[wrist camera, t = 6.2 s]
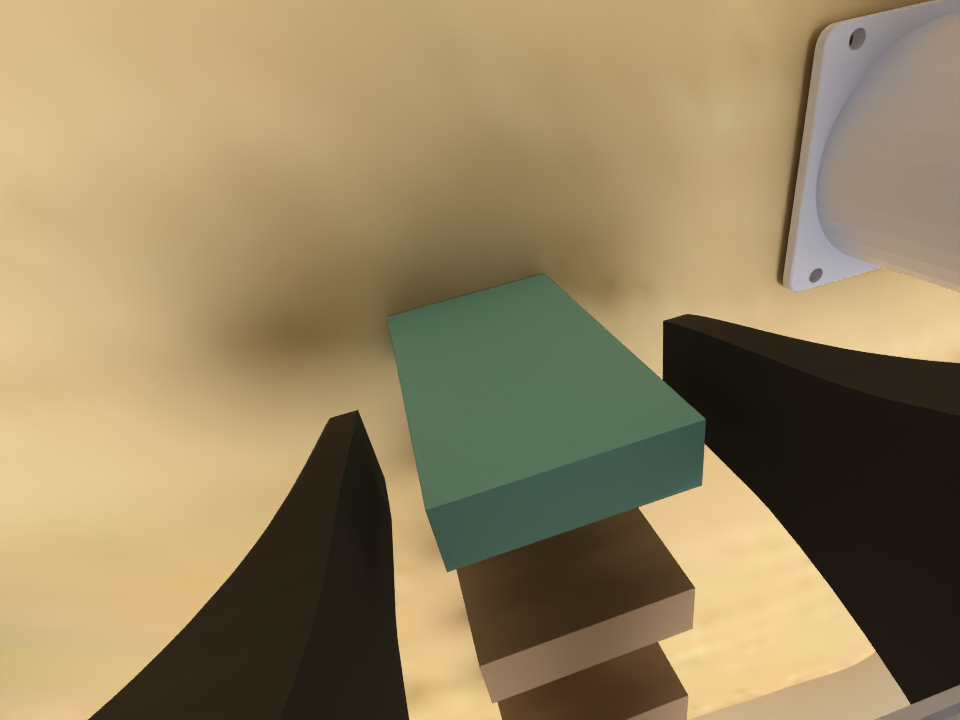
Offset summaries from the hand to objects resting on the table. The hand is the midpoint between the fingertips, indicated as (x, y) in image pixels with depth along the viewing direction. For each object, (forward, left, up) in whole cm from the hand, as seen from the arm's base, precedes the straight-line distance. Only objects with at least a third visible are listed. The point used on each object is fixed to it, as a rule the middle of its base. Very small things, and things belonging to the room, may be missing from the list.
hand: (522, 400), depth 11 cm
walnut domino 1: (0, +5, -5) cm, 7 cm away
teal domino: (0, 0, -5) cm, 5 cm away
